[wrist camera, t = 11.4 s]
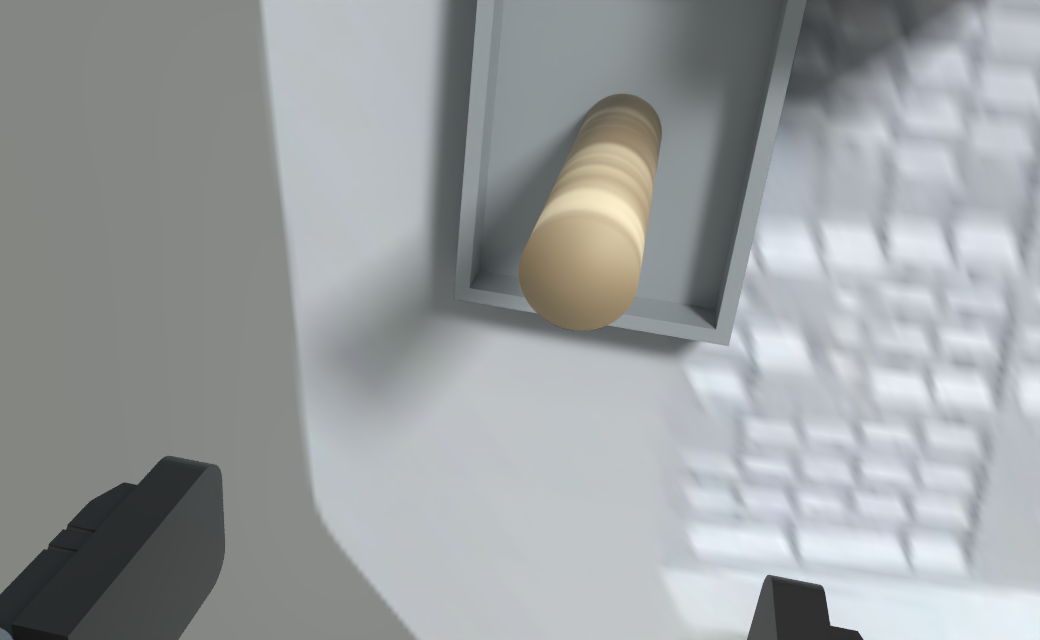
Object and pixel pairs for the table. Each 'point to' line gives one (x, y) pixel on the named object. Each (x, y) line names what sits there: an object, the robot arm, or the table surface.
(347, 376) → the table surface
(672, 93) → the grey tray
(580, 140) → the birch dowel
